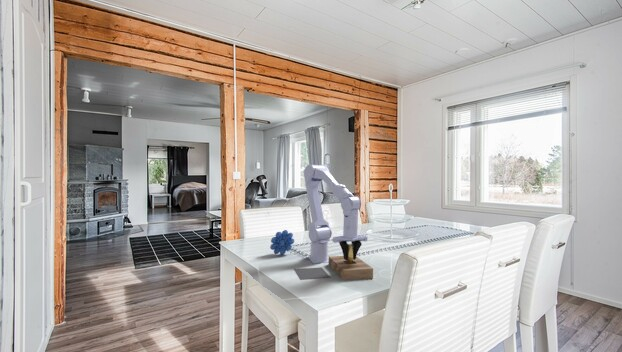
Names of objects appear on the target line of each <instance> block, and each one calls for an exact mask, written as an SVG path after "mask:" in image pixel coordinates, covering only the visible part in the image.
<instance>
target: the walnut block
mask: <svg viewBox="0 0 622 352" xmlns="http://www.w3.org/2000/svg"><path fill="white" fill-rule="evenodd" d="M328 260H329V262H328V265H329V267H330V268H331V269H332V270H333V271H334V272H335V273H336V274H337V275H338V276H339V277H340V279H342V280H343V281H345V280H346V281H348V280H357V279H369V280H373V279H374V268H373V267H372V266H371V265H369V264H368V263H366V262H365V261H363V259H360V258H359V257H358V256H356V259H355V260H354V259H353V264H346V260H345V259H344V256H343V255H333V256H332V255H331V256H328Z"/></svg>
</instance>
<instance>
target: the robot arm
mask: <svg viewBox="0 0 622 352" xmlns="http://www.w3.org/2000/svg"><path fill="white" fill-rule="evenodd" d="M303 176H304V181H305V189H306V195H307V196H306V197H307V201H308V205H309V211H310V216H311V223H310V224H308V239H309V241H310V249H309V250H310V256H308V259H309V260H310V262H312V263H313V264H323V263H324V264H325V263H329V258H328V257H329V256H328V254H329V253H328V252H329V250H328V249H329V242H330V239H331V238H332V242H333V243H335V244H336V243H338V244H339V245H340V248H341V250H342V251H341V252H342V256H344V259H345V260H347V258H348V246H349V245H348V244H349V242H351V244H353V245H354V260H355V259H356V257H357V255H358V253H359V250H360V248H361V246H362V242H368V236H366V235H358V228H359V227H358V223H359V210H360V209H361V206H362V202H361V201H362V200H361V198H360V197H359V196H357V195H353V193H352V192H350V190H349V189H347V188H346V185H345V184H341V183H338V182H337V180H336V179H335V177H334V176H333V175H332V174H331V173H330V170H329V168H328V167H327V166H326V165H324V164H321V165H320V164H310V163H309V164H307V165H306V166H305V168H304V169H303ZM322 182H324V183H326V185H327V186H328V187H329V188H331V190H332V195H333V196H334V197H335V198H336V199H337V200H338V202H339V203H340V207H341V209H342V214H343V228H342V229H343V230H342V233H343V235H339V236H332V235H333V233H332V229H331V228H330V225H329V222H328V221H327V220H326V219H324V213H323V208H322V203H321V198H320V192H319V188H318V186H319V185H320V184H321V183H322Z"/></svg>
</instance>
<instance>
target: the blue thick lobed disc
mask: <svg viewBox="0 0 622 352" xmlns="http://www.w3.org/2000/svg"><path fill="white" fill-rule="evenodd" d="M293 237H294V234H293V232H289V231H288V229H287V230H286V229H284V230H282V231H277V232H276V233H275V236H273V237H272V238H271V239H270V242H271V244H270V250H273V253H274V255H278V254H280V255H283V256H284V255H285V254H286V252H287V251H288V252H290V251H291V250H292V247H293V246H292V245H294V244H295V239H294V238H293Z"/></svg>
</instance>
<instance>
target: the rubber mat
mask: <svg viewBox="0 0 622 352" xmlns="http://www.w3.org/2000/svg"><path fill="white" fill-rule="evenodd" d="M293 270H294V272H295V274H296V275H297V277H298V279H299V280H300V281H306V280H317V279H318V280H320V279H330V278H331V276H330V275H329V274H328V273H327V272H326V270H325V269H324V268H323V267H320V266H319V267H308V268H307V267H305V268H293Z"/></svg>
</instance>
